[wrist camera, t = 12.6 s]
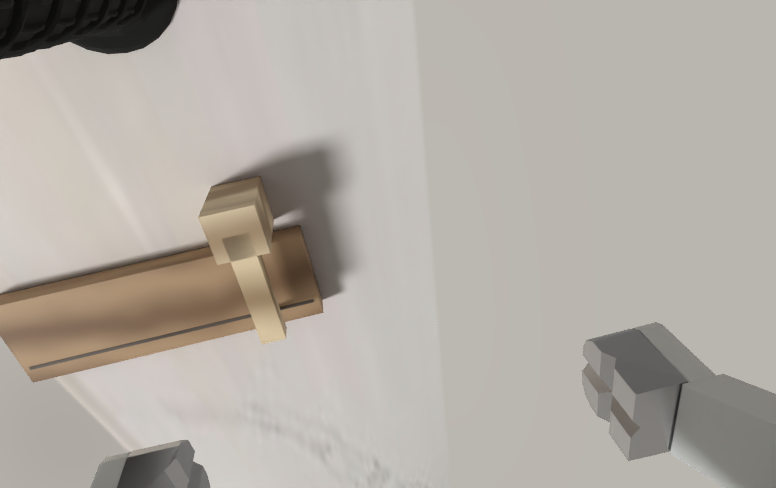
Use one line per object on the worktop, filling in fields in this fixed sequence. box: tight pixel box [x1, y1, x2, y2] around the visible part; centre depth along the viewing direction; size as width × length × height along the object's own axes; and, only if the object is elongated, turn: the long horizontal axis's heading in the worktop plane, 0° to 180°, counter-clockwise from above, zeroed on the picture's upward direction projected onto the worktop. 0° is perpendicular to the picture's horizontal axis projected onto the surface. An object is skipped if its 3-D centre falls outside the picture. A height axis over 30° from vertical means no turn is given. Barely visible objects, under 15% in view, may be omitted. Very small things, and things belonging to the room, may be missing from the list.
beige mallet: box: [198, 176, 286, 344], centre depth 41 cm, size 12×4×6 cm, turn 10°
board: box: [0, 226, 323, 382], centre depth 44 cm, size 8×26×2 cm, turn 100°
